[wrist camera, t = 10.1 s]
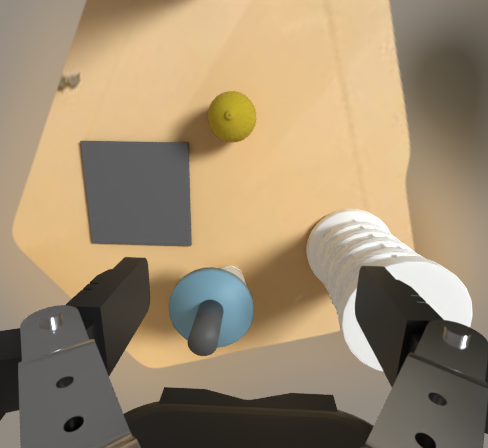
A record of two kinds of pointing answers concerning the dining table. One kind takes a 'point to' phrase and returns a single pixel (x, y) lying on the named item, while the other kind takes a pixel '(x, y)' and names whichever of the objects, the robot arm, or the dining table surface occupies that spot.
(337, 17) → the dining table surface
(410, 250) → the decorative container
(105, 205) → the mat
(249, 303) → the lid
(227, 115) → the lemon
